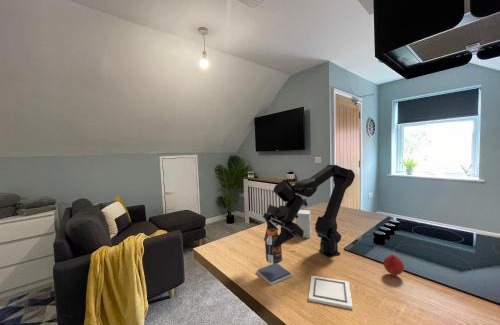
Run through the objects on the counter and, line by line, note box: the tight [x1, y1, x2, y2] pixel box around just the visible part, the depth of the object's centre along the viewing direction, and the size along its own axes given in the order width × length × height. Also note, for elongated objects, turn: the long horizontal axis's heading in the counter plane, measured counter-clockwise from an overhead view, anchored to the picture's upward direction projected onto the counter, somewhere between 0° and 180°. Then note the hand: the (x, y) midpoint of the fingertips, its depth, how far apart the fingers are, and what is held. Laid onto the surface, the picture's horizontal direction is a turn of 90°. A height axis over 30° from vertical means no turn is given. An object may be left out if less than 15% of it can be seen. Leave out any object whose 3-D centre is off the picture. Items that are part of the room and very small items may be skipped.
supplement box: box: [295, 209, 312, 239], centre depth 112 cm, size 7×7×13 cm
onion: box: [383, 253, 405, 277], centre depth 73 cm, size 6×6×8 cm
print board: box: [307, 275, 354, 310], centre depth 66 cm, size 12×12×1 cm
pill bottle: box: [264, 229, 283, 264], centre depth 77 cm, size 6×6×11 cm
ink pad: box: [256, 263, 294, 286], centre depth 77 cm, size 10×10×1 cm
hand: (269, 243), depth 76 cm, fingers closed on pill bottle, 6 cm apart
